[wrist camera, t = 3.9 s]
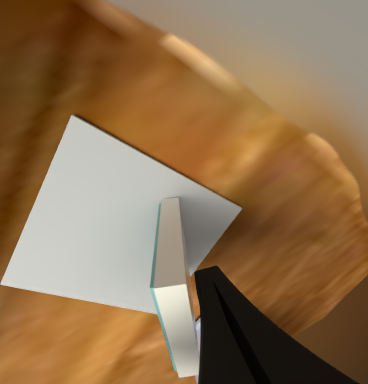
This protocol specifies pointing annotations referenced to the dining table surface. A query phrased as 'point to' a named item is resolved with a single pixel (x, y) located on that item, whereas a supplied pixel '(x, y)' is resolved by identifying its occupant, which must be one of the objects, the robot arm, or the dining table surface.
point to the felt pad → (108, 222)
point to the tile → (174, 289)
